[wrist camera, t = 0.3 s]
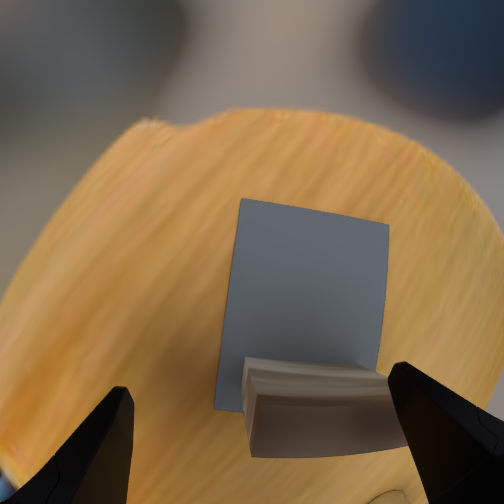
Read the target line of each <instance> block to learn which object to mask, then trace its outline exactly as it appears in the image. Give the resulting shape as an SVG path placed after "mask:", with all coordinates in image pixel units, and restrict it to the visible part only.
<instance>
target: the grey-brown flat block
mask: <svg viewBox="0 0 504 504" xmlns="http://www.w3.org/2000/svg"><path fill="white" fill-rule="evenodd" d="M241 396H242V403H243V409H244V415H245V421H246V427H247V433H248V438H249V444H250V450H251V455H252V457H259V458H316V457H333V456H344V455H354V454H362V453H370V452H377V451H383V450H389V449H395V448H400V447H405V446H408V443H407V440H406V438H405V435H404V433H403V430H402V428H401V425H400V423H399V420H398V417H397V414H396V411H395V407H394V404H393V400H392V397H391V393H390V390H389V387H388V377H386V376H383V375H381V374H379V373H377V372H375V371H372V370H370V369H368V368H366V367H364V366H362V365H360V364H345V363H317V362H299V361H285V360H273V359H262V358H253V357H245V362H244V369H243V376H242V384H241Z"/></svg>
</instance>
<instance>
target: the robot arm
mask: <svg viewBox="0 0 504 504" xmlns="http://www.w3.org/2000/svg"><path fill="white" fill-rule="evenodd" d="M388 387H389V390H390V393H391V397H392V400H393V404H394V407H395V411H396V414H397V417H398V420H399V423H400V425H401V428H402V430H403V433H404V435H405V438H406V440H407V443H408V446H409V448H410V451H411V454H412V456H413V459H414V462H415V464H416V467H417V470H418V473H419V476H420V478H421V481H422V484H423V487H424V490H425V493H426V496H427V499H428V502H429V504H504V421H502V420H500V419H498V418H496V417H494V416H492V415H491V414H489V413H487V412H486V411H484V410H482V409H481V408H479V407H476V405H474V404H472V403H471V402H469V401H468V400H466V399H464V398H463V397H461V396H460V395H458V394H456V393H455V392H453V391H452V390H450V389H449V388H447V387H445V386H444V385H442V384H441V383H439V382H437V381H436V380H434V379H433V378H431V377H429V376H428V375H426V374H425V373H423V372H422V371H420V370H418V369H417V368H415V367H414V366H412V365H411V364H409V363H407V362H405V361H403V362H399V363H395V364H394V366H393V368H392V370H391V372H390V375H389V377H388ZM133 431H134V402H133V399H132V397H131V395H130V393H129V390H128V389H127V388H126V387H122V386H115V387H113V388H112V389H111V391H110V392H109V393H108V394H107V395H106V396H105V397H104V398H103V400H102V401H101V402H100V403H99V404H98V405H97V406H96V407H95V409H94V410H93V411H92V412H91V413H90V414H89V415H88V416H87V418H86V419H85V420H84V421H83V422H82V423H81V424H80V426H79V427H78V428H77V429H76V430H75V431H74V432H73V433H72V435H71V436H70V437H69V438H68V439H67V440H66V441H65V443H64V444H63V445H62V446H61V447H60V448H59V449H58V451H57V452H56V453H55V455H53V456H52V457H51V459H50V460H49V461H48V462H47V463H46V464H45V465H44V466H43V467H42V468H41V470H40V471H39V472H38V473H37V474H36V475H34V476H33V477H32V478H31V479H30V480H29V481H28V482H27V483H26V484H25V485H23V486H22V487H21V488H20V489H19V490H18V491H17V492H16V493H14V494H13V495H12V496H11V497H10V498H8V499H6V500H5V501H2V502H0V504H126V502H127V491H128V482H129V474H130V466H131V458H132V451H133Z"/></svg>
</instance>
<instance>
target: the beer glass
mask: <svg viewBox="0 0 504 504" xmlns="http://www.w3.org/2000/svg"><path fill="white" fill-rule="evenodd" d="M369 504H410V502H409V500H408V499H407V497H406V495H405V494H404V493H403V492H402V491H399V490H394V491H389V492H386V493H384V494H382V495H380V496H378V497H377V498H375V499H374V500H373V501H371V502H370V503H369Z"/></svg>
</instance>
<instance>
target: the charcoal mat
mask: <svg viewBox="0 0 504 504" xmlns="http://www.w3.org/2000/svg"><path fill="white" fill-rule="evenodd" d="M388 252H389V225H388V224H383V223H378V222H373V221H369V220H364V219H359V218H354V217H349V216H344V215H338V214H333V213H328V212H322V211H317V210H311V209H306V208H300V207H294V206H288V205H282V204H276V203H270V202H263V201H257V200H250V199H244V198H242V200H241V207H240V213H239V220H238V227H237V234H236V241H235V248H234V255H233V262H232V269H231V276H230V283H229V291H228V298H227V306H226V313H225V321H224V328H223V336H222V344H221V352H220V360H219V368H218V376H217V384H216V393H215V401H214V409H217V410H225V411H234V412H244V409H243V403H242V396H241V384H242V376H243V369H244V362H245V357H253V358H262V359H273V360H285V361H299V362H317V363H345V364H360V365H362V366H364V367H366V368H368V369H370V370H372V371H375V370H376V364H377V358H378V352H379V346H380V339H381V332H382V324H383V316H384V307H385V297H386V285H387V271H388Z"/></svg>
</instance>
